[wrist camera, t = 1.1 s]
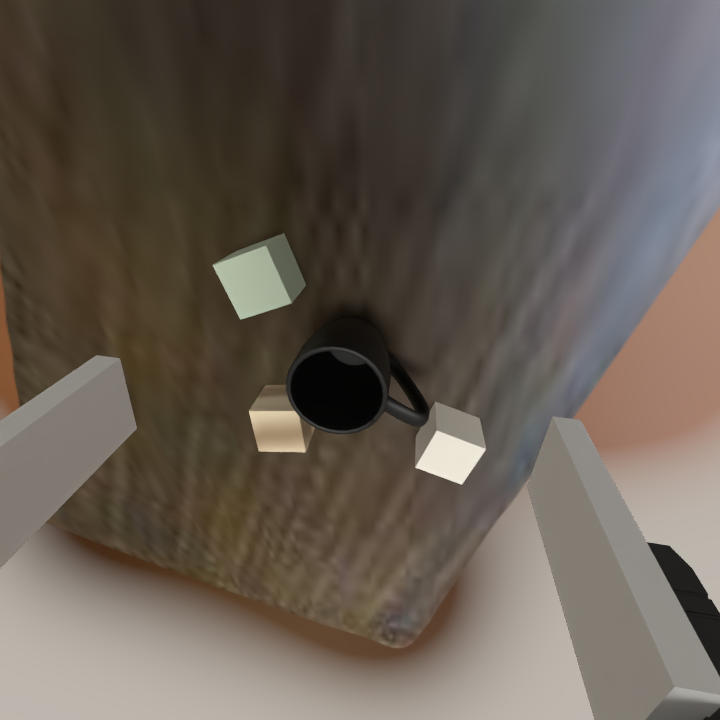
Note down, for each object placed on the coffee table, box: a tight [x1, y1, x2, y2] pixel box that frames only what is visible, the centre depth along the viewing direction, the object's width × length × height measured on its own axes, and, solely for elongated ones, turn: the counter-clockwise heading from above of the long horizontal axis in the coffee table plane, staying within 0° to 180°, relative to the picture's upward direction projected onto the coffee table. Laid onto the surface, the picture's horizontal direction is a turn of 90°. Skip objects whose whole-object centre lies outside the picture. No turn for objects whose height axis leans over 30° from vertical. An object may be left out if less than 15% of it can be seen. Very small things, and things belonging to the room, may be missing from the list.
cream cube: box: [415, 401, 486, 485], centre depth 42 cm, size 5×5×5 cm
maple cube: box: [249, 385, 315, 452], centre depth 43 cm, size 5×5×5 cm
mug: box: [286, 316, 430, 434], centre depth 37 cm, size 8×12×10 cm
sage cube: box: [213, 233, 306, 320], centre depth 36 cm, size 5×5×5 cm
